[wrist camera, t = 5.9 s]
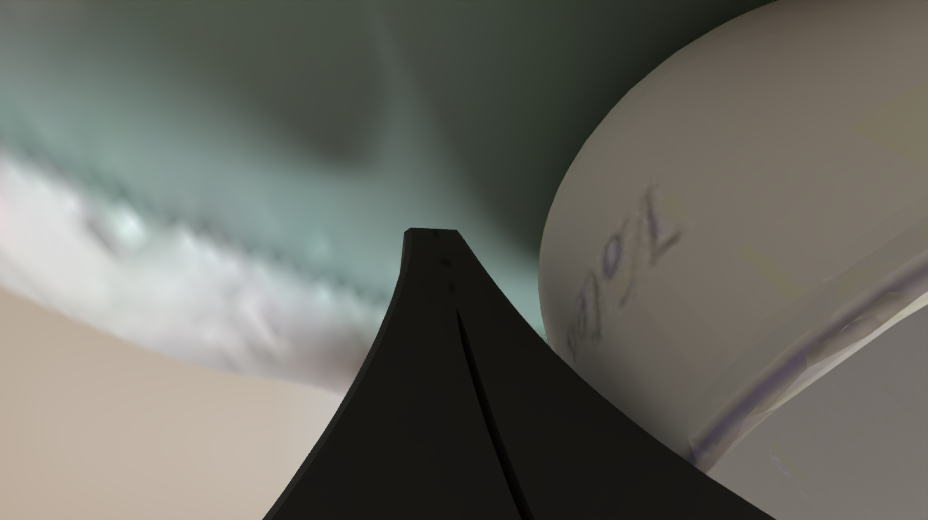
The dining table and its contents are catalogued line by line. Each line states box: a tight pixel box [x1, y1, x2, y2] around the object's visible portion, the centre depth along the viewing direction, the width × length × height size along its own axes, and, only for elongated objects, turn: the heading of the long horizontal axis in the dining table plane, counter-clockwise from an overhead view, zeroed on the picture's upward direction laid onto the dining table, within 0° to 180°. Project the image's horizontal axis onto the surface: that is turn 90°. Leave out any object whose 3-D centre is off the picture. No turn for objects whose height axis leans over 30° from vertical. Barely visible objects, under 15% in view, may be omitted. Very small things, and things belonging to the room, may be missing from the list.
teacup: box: [538, 0, 928, 520], centre depth 10 cm, size 14×11×8 cm
